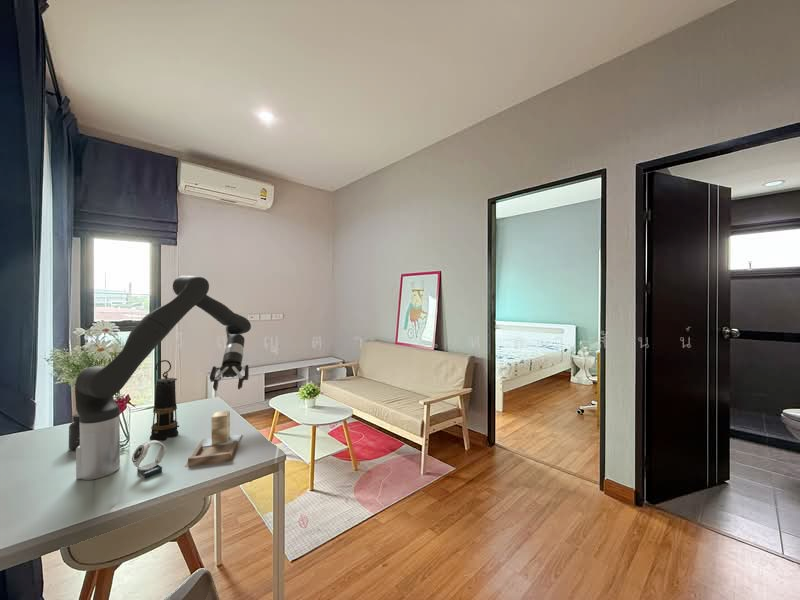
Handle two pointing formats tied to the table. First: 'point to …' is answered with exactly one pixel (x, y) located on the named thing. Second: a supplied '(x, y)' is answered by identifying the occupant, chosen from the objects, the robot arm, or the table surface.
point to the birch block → (220, 427)
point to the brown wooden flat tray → (214, 451)
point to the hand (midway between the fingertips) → (227, 389)
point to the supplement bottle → (74, 433)
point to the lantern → (164, 408)
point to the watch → (153, 467)
